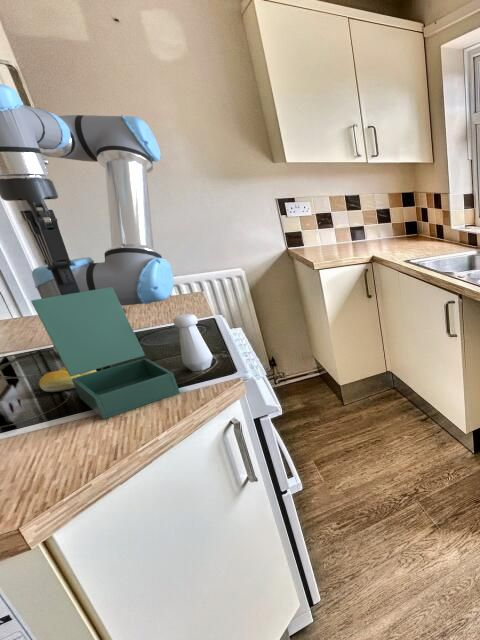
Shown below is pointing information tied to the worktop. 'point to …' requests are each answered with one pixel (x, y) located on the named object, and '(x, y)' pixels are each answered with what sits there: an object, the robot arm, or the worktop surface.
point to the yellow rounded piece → (59, 380)
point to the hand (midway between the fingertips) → (73, 299)
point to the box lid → (88, 329)
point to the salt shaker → (192, 343)
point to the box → (125, 387)
